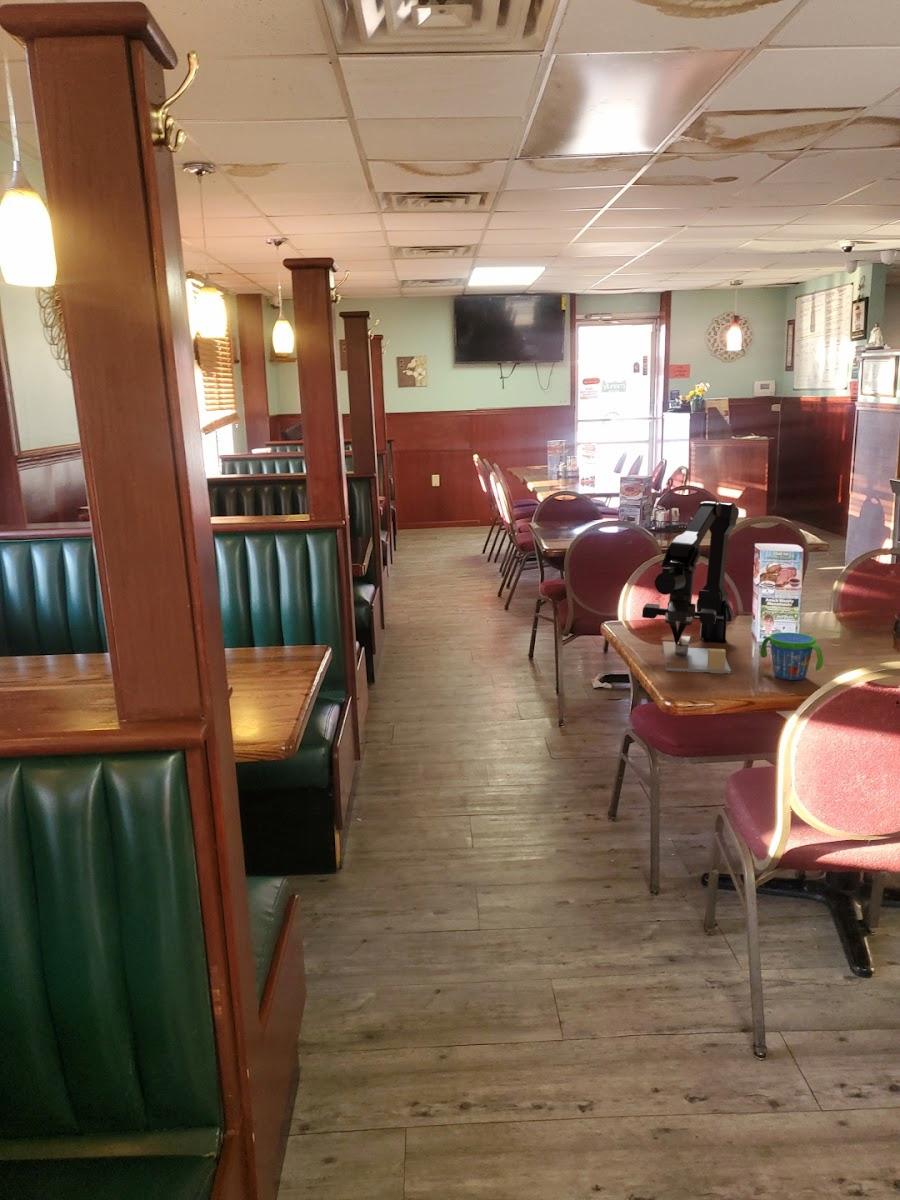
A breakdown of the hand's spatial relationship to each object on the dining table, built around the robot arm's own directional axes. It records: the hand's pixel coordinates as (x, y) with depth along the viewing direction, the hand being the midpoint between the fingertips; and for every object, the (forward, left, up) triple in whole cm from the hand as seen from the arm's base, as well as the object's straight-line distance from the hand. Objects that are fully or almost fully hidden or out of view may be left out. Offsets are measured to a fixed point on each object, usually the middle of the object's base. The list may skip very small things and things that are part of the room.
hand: (676, 644), depth 228 cm
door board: (-5, +3, -4) cm, 7 cm away
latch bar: (-2, +4, 0) cm, 4 cm away
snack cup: (-27, +13, -4) cm, 30 cm away
